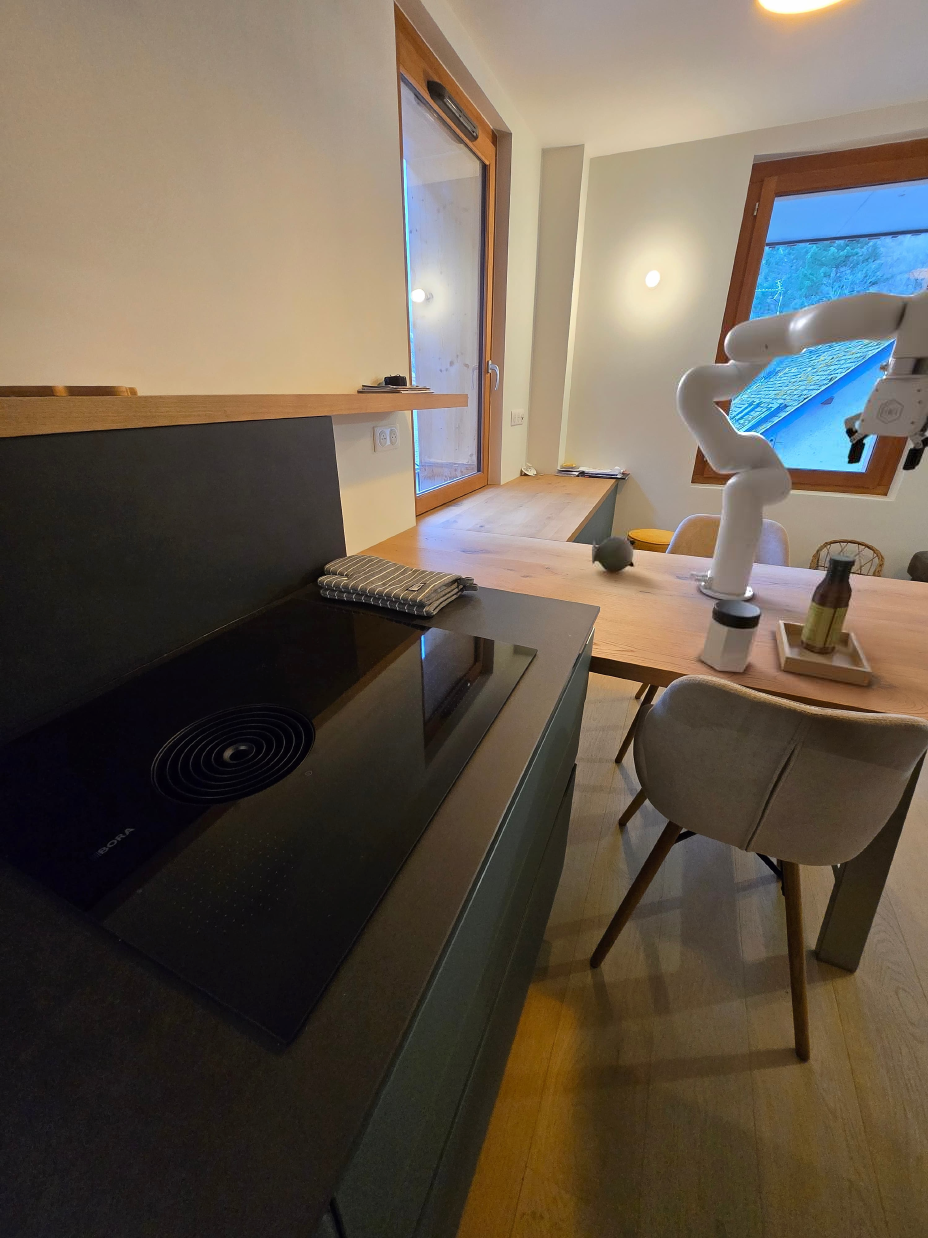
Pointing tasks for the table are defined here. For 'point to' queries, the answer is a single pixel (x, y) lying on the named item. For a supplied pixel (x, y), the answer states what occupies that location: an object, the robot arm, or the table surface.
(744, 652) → the jar
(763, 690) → the table surface
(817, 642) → the sauce bottle
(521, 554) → the table surface
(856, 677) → the tray
